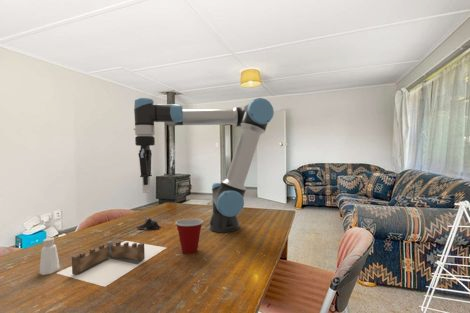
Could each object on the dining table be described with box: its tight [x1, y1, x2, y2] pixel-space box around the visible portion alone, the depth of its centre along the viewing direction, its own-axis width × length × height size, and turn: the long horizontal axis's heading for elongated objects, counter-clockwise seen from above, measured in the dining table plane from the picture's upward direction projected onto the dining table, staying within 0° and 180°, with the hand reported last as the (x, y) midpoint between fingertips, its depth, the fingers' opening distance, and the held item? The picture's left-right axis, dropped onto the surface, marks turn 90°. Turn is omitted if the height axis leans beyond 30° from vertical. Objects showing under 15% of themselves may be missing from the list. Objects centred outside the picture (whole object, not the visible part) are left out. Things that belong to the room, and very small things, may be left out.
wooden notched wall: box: [106, 240, 145, 261], centre depth 83 cm, size 15×2×6 cm, turn 76°
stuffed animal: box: [135, 217, 161, 235], centre depth 115 cm, size 12×10×12 cm
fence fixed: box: [71, 244, 109, 275], centre depth 78 cm, size 12×2×6 cm, turn 159°
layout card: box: [56, 240, 167, 288], centre depth 83 cm, size 22×28×1 cm
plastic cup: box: [175, 218, 204, 255], centre depth 90 cm, size 11×11×12 cm
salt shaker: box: [39, 237, 61, 276], centre depth 76 cm, size 5×5×11 cm
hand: (146, 192), depth 95 cm, fingers closed
